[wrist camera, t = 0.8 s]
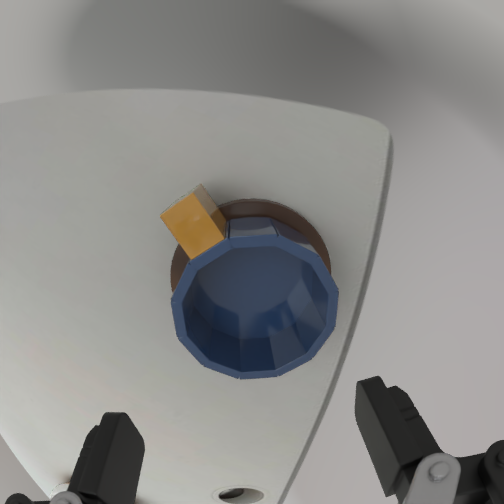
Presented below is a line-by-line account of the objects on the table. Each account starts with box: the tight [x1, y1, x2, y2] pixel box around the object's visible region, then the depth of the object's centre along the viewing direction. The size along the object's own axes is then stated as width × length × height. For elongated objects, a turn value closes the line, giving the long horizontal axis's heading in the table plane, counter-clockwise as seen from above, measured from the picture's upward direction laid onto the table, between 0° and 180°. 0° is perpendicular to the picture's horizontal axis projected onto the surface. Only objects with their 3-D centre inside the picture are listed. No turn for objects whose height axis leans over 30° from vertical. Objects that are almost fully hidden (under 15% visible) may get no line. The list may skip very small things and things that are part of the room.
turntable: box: [171, 199, 331, 292], centre depth 27 cm, size 14×14×1 cm
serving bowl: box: [160, 184, 339, 379], centre depth 23 cm, size 15×12×5 cm
